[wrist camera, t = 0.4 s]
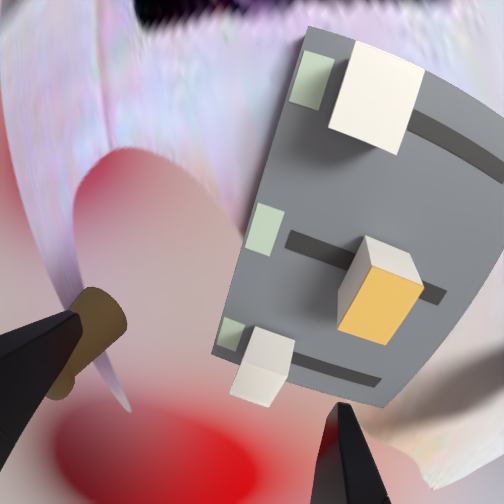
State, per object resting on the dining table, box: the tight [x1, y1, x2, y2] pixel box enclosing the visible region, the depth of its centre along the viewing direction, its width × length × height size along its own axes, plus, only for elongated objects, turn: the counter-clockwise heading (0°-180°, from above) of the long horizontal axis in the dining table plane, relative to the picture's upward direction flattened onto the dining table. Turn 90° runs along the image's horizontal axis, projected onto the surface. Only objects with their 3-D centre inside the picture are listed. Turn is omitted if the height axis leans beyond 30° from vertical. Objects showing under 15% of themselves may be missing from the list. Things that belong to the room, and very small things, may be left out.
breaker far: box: [229, 326, 295, 407], centre depth 20 cm, size 3×4×4 cm
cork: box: [45, 287, 127, 400], centre depth 23 cm, size 6×6×11 cm
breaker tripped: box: [337, 235, 424, 345], centre depth 16 cm, size 3×4×4 cm
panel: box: [211, 26, 504, 408], centre depth 18 cm, size 16×24×2 cm, turn 165°
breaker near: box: [328, 40, 425, 155], centre depth 12 cm, size 3×4×4 cm
